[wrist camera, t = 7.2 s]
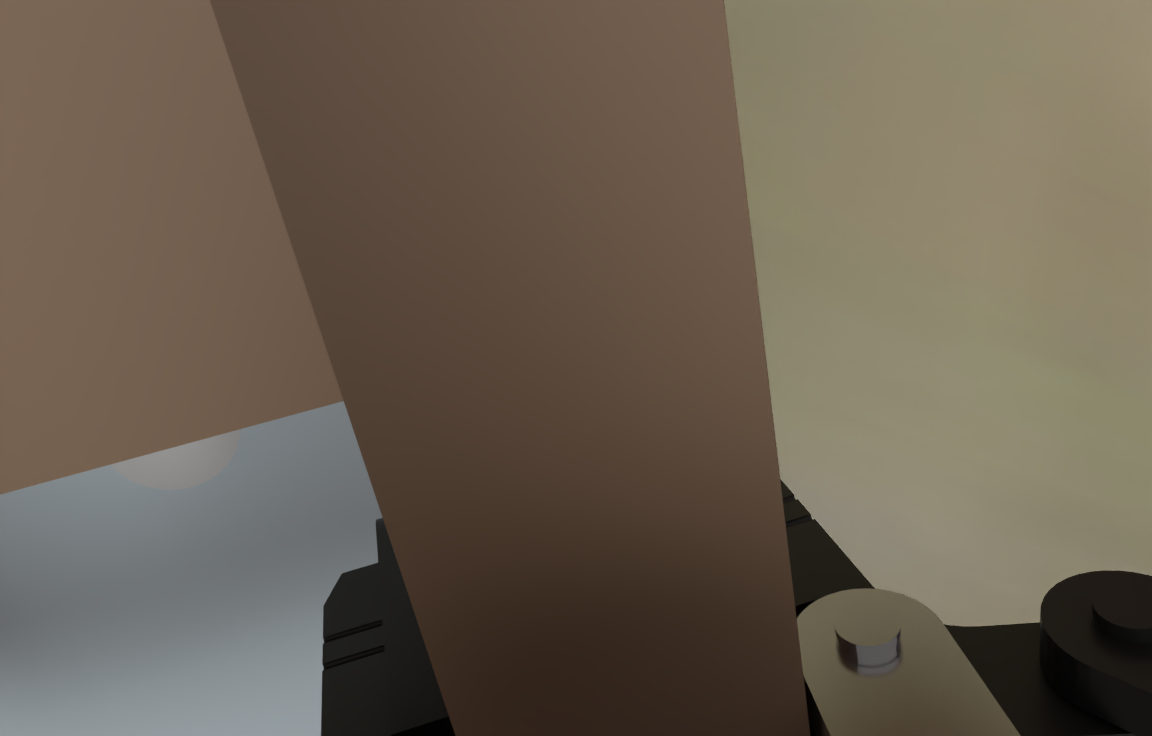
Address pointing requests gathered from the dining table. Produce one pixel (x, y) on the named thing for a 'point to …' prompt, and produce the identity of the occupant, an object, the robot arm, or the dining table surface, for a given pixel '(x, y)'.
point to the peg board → (183, 585)
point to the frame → (429, 316)
